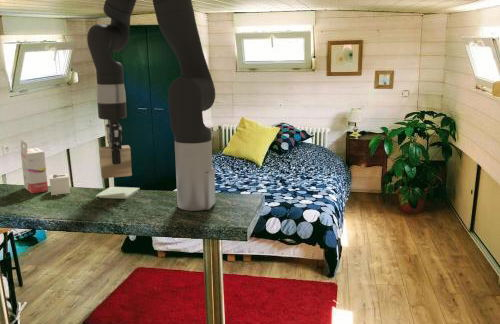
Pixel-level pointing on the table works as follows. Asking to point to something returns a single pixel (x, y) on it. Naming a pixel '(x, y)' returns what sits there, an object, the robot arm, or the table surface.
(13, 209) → the table surface
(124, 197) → the sage mat
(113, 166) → the birch block
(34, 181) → the ink cartridge box
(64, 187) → the marked cube
